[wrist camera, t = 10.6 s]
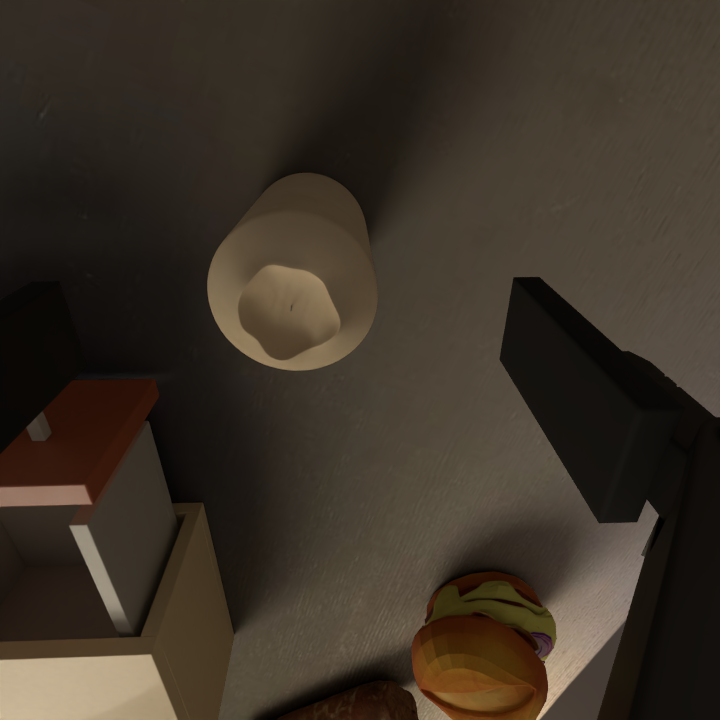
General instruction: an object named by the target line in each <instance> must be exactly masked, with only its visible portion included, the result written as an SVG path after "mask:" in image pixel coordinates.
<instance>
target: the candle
mask: <svg viewBox="0 0 720 720" xmlns="http://www.w3.org/2000/svg"><path fill="white" fill-rule="evenodd" d="M207 292H208V299H209V304H210V308H211V311H212V314H213V316H214V318H215V321H216V323H217V324H218V326H219V328H220V329H221V331H222V332H223V334H224V335H225V336H226V337H227V339H228V340H229V341H230V342H231V343H232V344H233V345H234V346H235V347H236V348H237V349H239V350H240V351H241V352H243V353H244V354H245V355H247V356H249V357H250V358H252V359H254V360H256V361H258V362H260V363H262V364H265V365H268V366H271V367H274V368H279V369H284V370H311V369H316V368H321V367H324V366H327V365H330V364H332V363H334V362H336V361H338V360H340V359H342V358H343V357H345V356H346V355H348V354H349V353H350V352H352V351H353V350H354V349H355V348H356V347H357V346H358V345H359V344H360V343H361V342H362V340H363V339H364V338H365V336H366V335H367V333H368V331H369V329H370V327H371V325H372V323H373V320H374V318H375V315H376V310H377V304H378V288H377V280H376V275H375V269H374V264H373V259H372V253H371V248H370V243H369V238H368V232H367V227H366V223H365V219H364V215H363V213H362V210H361V208H360V206H359V204H358V202H357V201H356V199H355V198H354V196H353V195H352V194H351V193H350V192H349V191H348V190H347V189H346V188H345V187H344V186H343V185H341V184H340V183H338V182H337V181H335V180H333V179H331V178H329V177H327V176H323V175H320V174H315V173H297V174H292V175H289V176H286V177H284V178H281V179H279V180H278V181H276V182H275V183H273V184H272V185H271V186H270V187H268V188H267V189H266V190H265V191H264V192H263V194H262V195H261V196H260V197H259V198H258V199H257V201H256V202H255V203H254V204H253V205H252V207H251V208H250V209H249V210H248V211H247V213H246V214H245V215H244V216H243V217H242V219H241V220H240V221H239V222H238V223H237V225H236V226H235V227H234V228H233V229H232V231H231V232H230V233H229V234H228V235H227V237H226V238H225V239H224V240H223V242H222V243H221V245H220V246H219V248H218V249H217V251H216V253H215V255H214V257H213V259H212V262H211V265H210V269H209V273H208V280H207Z"/></svg>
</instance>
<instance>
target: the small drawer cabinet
mask: <svg viewBox="0 0 720 720" xmlns="http://www.w3.org/2000/svg"><path fill="white" fill-rule="evenodd" d="M172 505H173V509H174V512H175V516H176V519H177V523H178V527H179V530H180V531H179V534H178V537H177V539H176V542H175V545H174V547H173V550H172V553H171V556H170V558H169V561H168V564H167V566H166V569H165V572H164V574H163V577H162V580H161V582H160V585H159V588H158V590H157V593H156V596H155V598H154V601H153V604H152V607H151V609H150V612H149V615H148V617H147V620H146V623H145V625H144V628H143V631H142V633H141V637H124V638H95V639H66V640H37V641H9V642H0V720H218V716H219V711H220V706H221V701H222V696H223V691H224V686H225V681H226V676H227V670H228V665H229V660H230V655H231V650H232V645H233V640H234V632H233V628H232V624H231V619H230V615H229V611H228V607H227V602H226V598H225V594H224V590H223V585H222V581H221V577H220V572H219V568H218V564H217V560H216V555H215V551H214V547H213V543H212V538H211V534H210V530H209V526H208V521H207V517H206V513H205V509H204V504H203V503H172Z"/></svg>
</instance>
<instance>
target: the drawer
mask: <svg viewBox="0 0 720 720" xmlns="http://www.w3.org/2000/svg"><path fill="white" fill-rule="evenodd" d="M158 398H159V393H158V389H157V385H156V381H155V379H112V380H72V381H71V382H70V383H69V384H68V385H67V386H66V387H65V388H64V389H63V390H62V391H61V392H60V394H59V395H58V396H57V397H56V398H55V399H54V400H53V401H52V402H51V403H50V404H49V405H48V406H47V407H46V408H45V409H44V410H43V411H42V412H41V413H40V414H39V415H38V416H37V417H36V418H35V419H34V420H33V421H32V422H31V423H30V424H29V425H28V426H27V427H26V428H25V429H24V431H23V432H22V433H21V434H20V435H19V436H18V437H17V438H16V439H15V440H14V441H13V442H12V443H11V444H10V445H9V446H8V447H7V448H6V449H5V450H4V451H3V452H2V453H1V454H0V642H9V641H37V640H66V639H95V638H124V637H141V633H142V631H143V628H144V625H145V623H146V620H147V617H148V615H149V612H150V609H151V607H152V604H153V601H154V598H155V596H156V593H157V590H158V588H159V585H160V582H161V580H162V577H163V574H164V572H165V569H166V566H167V564H168V561H169V558H170V556H171V553H172V550H173V547H174V545H175V542H176V539H177V537H178V534H179V531H180V530H179V527H178V523H177V519H176V516H175V512H174V509H173V505H172V502H171V498H170V495H169V491H168V488H167V484H166V480H165V477H164V473H163V470H162V466H161V463H160V459H159V456H158V452H157V449H156V445H155V442H154V438H153V434H152V431H151V427H150V424H149V421H145V419H146V417H147V416H148V414H149V412H150V411H151V409H152V407H153V406H154V404H155V403H156V401H157V399H158Z"/></svg>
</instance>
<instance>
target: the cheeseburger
mask: <svg viewBox="0 0 720 720" xmlns="http://www.w3.org/2000/svg"><path fill="white" fill-rule="evenodd" d="M425 624H426V625H425V626H422V628H421V629H420V630H419V631H418V632H417V634H416V635H415V637H414V640H413V643H412V665H413V672H414V676H415V680H416V682H417V685H418V688H419V689H420V691H421V692H422V693H423V694H424V695H425V696H426V697H427V698H428V699H429V700H430V701H432V702H433V703H434V704H436V705H437V706H438V707H439V708H440V709H441V710H442V711H444V712H445V713H446V714H447V715H448V716H449V717H450V718H451V719H452V720H536V718H537V717H538V715H539V713H540V711H541V709H542V708H543V706H544V704H545V702H546V699H547V692H548V681H547V674H546V668H545V666H544V663H545V660H546V658H547V657H548V655H549V654H550V652H551V651H552V649H553V648H554V645H555V642H556V639H557V638H556V624H555V621H554V619H553V617H552V615H551V613H550V612H549V611H548V609H547V608H546V607H543V606H542V604H541V603H540V601H539V599H538V597H537V595H536V594H535V592H534V590H533V589H532V588H531V587H530V586H528V585H527V584H526V583H524V582H523V581H522V580H520V579H519V578H518V577H515V576H512V575H508V574H504V573H500V572H496V571H492V572H483V573H474V574H470V575H467V576H464V577H461V578H459V579H456V580H453V581H451V582H449V583H448V584H446V585H445V586H443V587H442V588H441V589H439V590H438V591H436V592H435V594H434V595H433V597H432V598H431V600H430V602H429V603H428V605H427V616H426V619H425Z"/></svg>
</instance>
